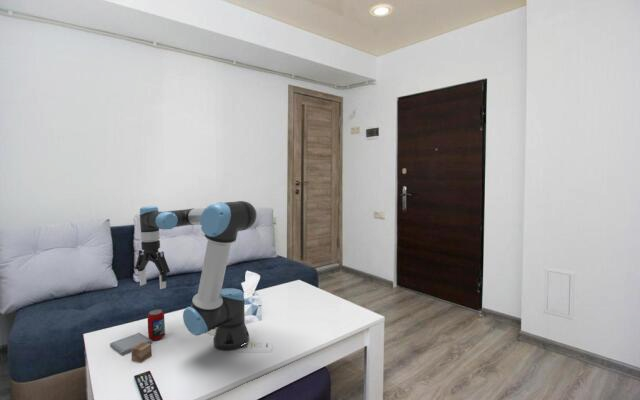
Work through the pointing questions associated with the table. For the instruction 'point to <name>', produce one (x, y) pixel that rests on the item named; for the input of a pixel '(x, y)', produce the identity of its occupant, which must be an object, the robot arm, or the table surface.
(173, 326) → the table surface
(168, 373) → the table surface
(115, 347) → the coaster
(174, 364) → the table surface
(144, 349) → the walnut block
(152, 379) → the table surface
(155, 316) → the beverage can
